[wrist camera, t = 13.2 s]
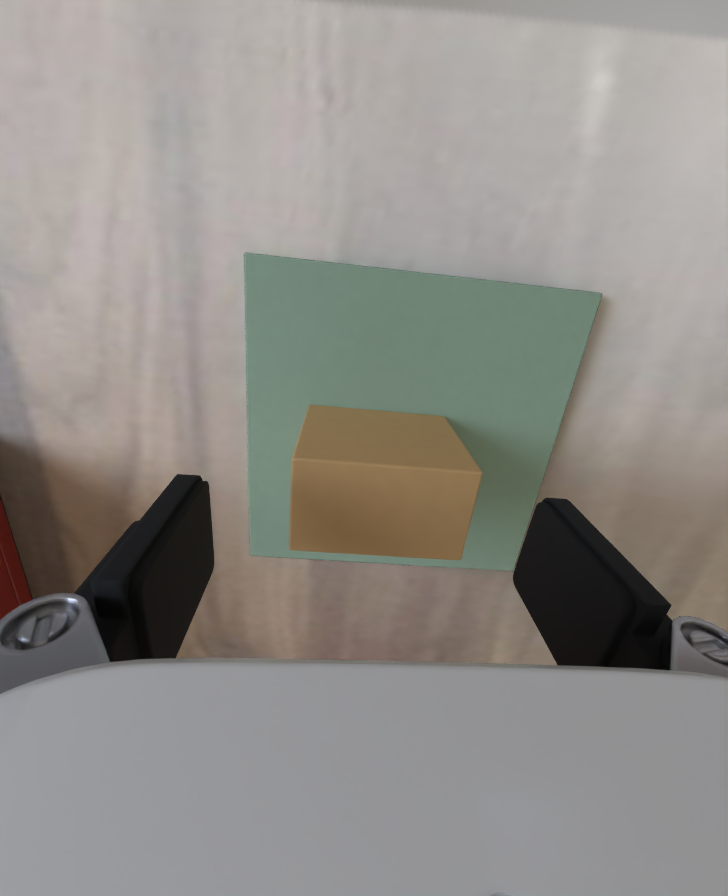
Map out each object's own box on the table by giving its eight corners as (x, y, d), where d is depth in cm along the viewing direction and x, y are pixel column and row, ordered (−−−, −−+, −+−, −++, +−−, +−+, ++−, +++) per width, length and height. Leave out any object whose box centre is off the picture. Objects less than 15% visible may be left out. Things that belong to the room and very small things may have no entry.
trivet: (247, 253, 15) (243, 252, 14) (594, 292, 16) (603, 293, 15) (252, 548, 20) (249, 556, 20) (509, 564, 21) (513, 571, 21)
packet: (308, 403, 17) (291, 457, 12) (444, 415, 17) (484, 472, 12) (305, 475, 18) (288, 551, 13) (431, 484, 19) (461, 561, 14)
